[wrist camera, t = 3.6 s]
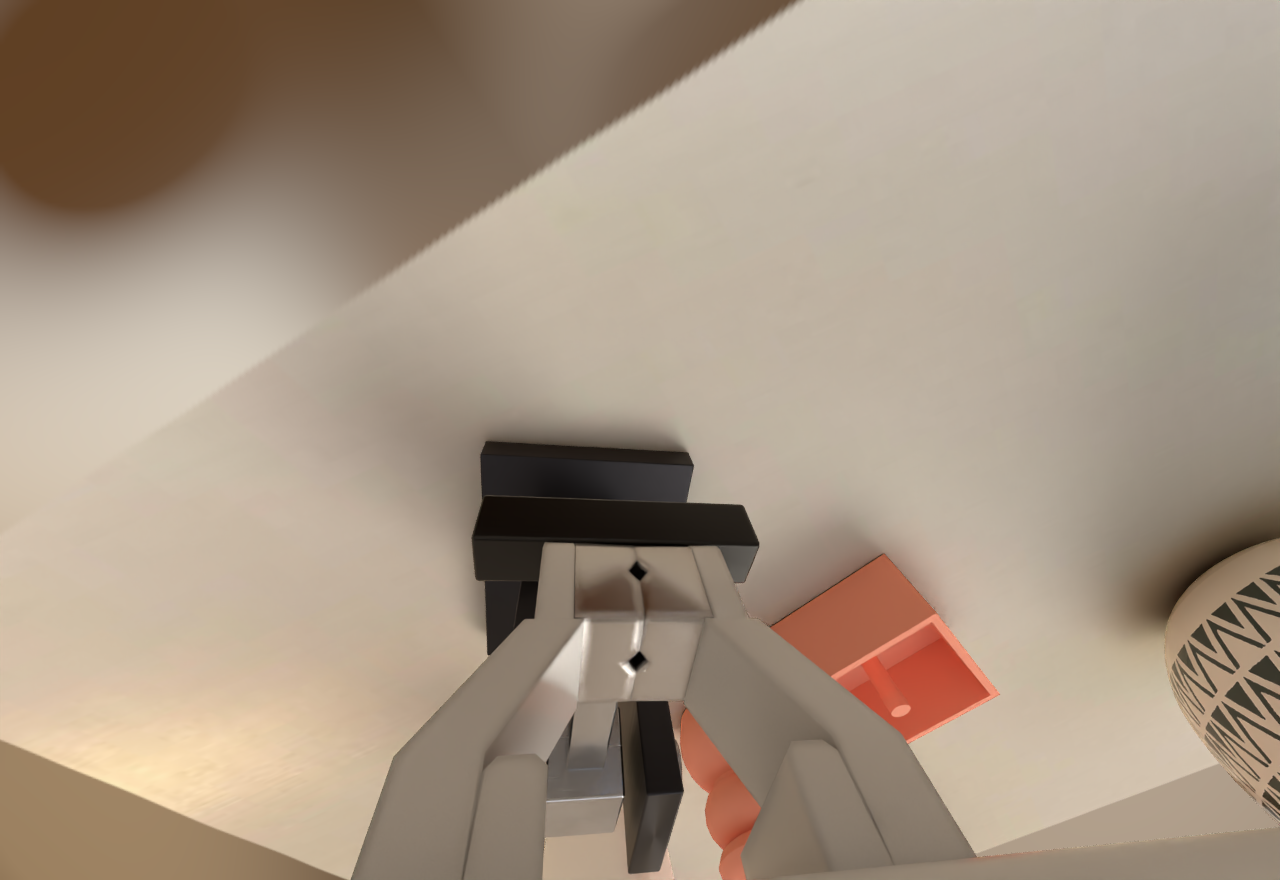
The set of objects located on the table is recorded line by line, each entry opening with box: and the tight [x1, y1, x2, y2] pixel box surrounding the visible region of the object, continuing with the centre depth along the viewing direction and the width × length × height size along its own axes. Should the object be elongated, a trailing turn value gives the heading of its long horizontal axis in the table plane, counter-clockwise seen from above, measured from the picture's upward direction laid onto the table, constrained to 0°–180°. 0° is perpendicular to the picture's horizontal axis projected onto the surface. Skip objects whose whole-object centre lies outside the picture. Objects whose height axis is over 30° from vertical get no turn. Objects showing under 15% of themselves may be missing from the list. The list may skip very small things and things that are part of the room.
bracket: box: [480, 442, 694, 874], centre depth 18 cm, size 12×9×12 cm
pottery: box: [680, 554, 1000, 880], centre depth 25 cm, size 18×10×10 cm, turn 131°
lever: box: [472, 495, 759, 838], centre depth 11 cm, size 12×5×2 cm, turn 173°
